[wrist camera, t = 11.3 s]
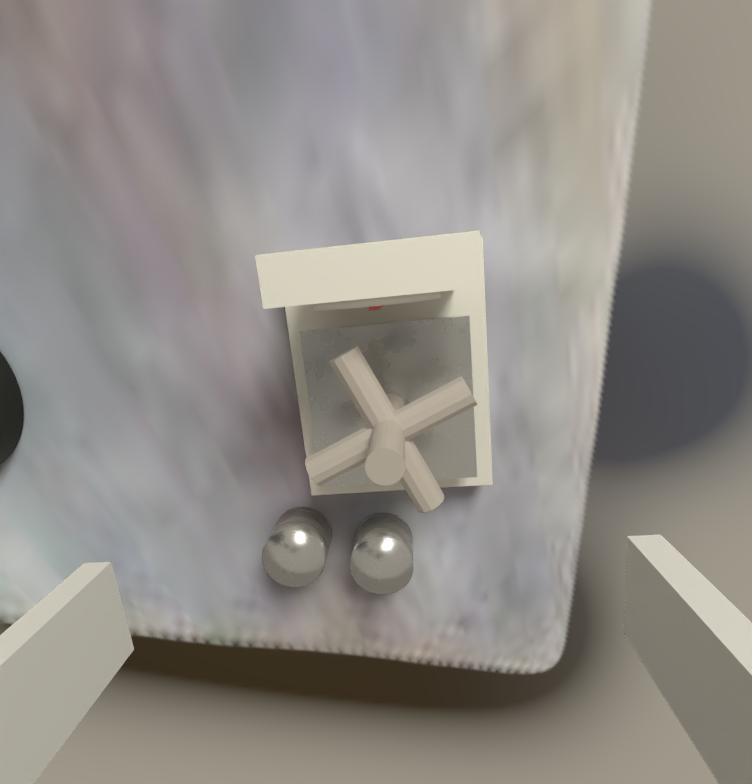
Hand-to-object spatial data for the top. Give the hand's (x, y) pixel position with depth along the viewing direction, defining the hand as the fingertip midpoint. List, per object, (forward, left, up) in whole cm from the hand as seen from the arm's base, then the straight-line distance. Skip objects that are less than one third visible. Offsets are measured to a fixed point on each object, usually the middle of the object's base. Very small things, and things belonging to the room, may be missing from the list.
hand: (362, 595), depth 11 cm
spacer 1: (-9, -13, -25) cm, 29 cm away
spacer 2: (-2, -14, -25) cm, 28 cm away
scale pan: (0, 0, -20) cm, 20 cm away
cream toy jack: (0, 0, -19) cm, 19 cm away
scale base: (0, +1, -25) cm, 25 cm away
